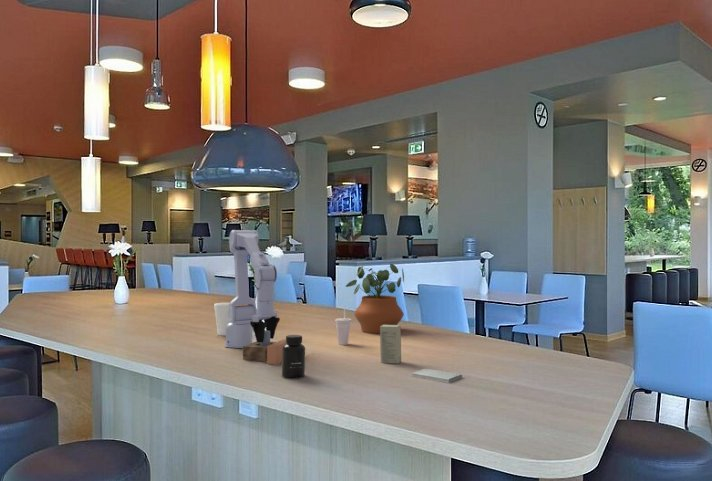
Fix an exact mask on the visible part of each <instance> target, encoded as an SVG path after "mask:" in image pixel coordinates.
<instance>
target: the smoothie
mask: <svg viewBox="0 0 712 481" xmlns="http://www.w3.org/2000/svg"><path fill="white" fill-rule="evenodd" d="M334 322H335V326H336V335H337V343H338V346H339V345H340V346H346V345H348V344H349V340H350V339H349V337H350V330H351V323H352V319H351V318H346V308H345V307H344V308H343V317H342V318H341V317H340V318H339V317H338V318H335V321H334Z"/></svg>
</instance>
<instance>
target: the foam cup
mask: <svg viewBox="0 0 712 481" xmlns="http://www.w3.org/2000/svg"><path fill="white" fill-rule="evenodd" d="M229 303H230V302H217V303H214V304H213V307H214V308H213V310H214V315H215V321H216V322H215V324H216V330H217V331H216V332H217V335H218V336H223V337H224V336H225V337H226V327H227V325H228V324H229V323H231V322H230V320H229V318H228V310H229ZM236 306H238V305H236Z"/></svg>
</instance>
